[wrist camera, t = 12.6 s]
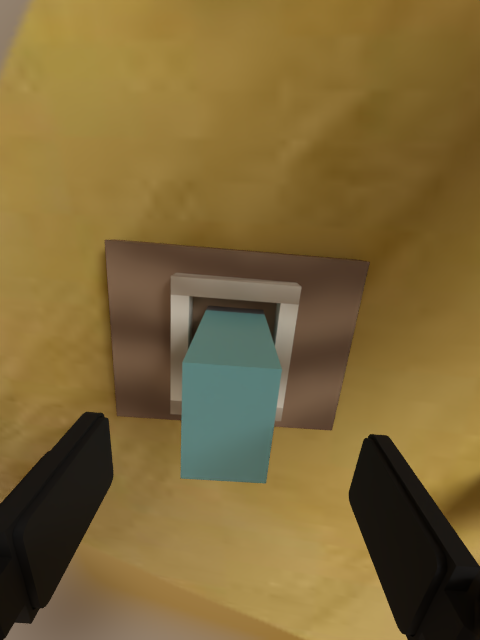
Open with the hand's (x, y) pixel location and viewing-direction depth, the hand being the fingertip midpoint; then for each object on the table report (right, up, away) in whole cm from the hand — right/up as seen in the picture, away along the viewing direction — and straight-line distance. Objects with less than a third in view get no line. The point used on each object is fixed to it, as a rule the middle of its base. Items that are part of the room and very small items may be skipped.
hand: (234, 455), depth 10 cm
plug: (0, +3, +10) cm, 11 cm away
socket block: (0, +3, +12) cm, 12 cm away
